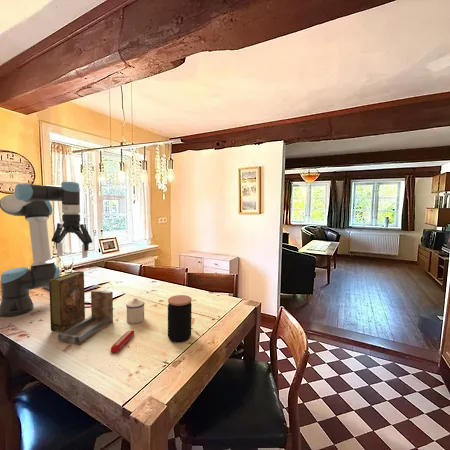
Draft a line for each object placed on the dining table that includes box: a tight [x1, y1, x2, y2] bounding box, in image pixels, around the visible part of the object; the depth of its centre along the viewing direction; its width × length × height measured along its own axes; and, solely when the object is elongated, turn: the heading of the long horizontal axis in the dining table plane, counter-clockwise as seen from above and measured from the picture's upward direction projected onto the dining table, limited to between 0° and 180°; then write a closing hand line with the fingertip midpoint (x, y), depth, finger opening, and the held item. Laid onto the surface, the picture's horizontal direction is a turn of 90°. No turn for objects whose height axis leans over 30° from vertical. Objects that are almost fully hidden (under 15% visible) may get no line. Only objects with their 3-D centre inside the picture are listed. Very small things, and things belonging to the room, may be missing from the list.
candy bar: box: [109, 330, 135, 353], centre depth 111 cm, size 16×4×3 cm, turn 173°
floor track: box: [57, 289, 114, 346], centre depth 120 cm, size 11×22×16 cm, turn 167°
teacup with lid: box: [125, 297, 146, 325], centre depth 133 cm, size 12×9×12 cm
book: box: [48, 271, 86, 333], centre depth 125 cm, size 16×6×25 cm, turn 168°
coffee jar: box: [167, 294, 193, 344], centre depth 116 cm, size 11×11×18 cm
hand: (72, 256), depth 125 cm, fingers open, 13 cm apart
